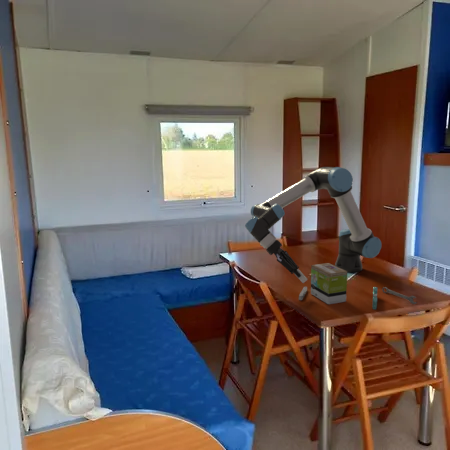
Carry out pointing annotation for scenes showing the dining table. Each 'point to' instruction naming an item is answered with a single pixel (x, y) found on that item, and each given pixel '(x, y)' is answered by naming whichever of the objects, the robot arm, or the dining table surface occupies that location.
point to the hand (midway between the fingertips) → (305, 281)
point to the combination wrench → (400, 295)
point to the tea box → (328, 283)
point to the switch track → (374, 305)
